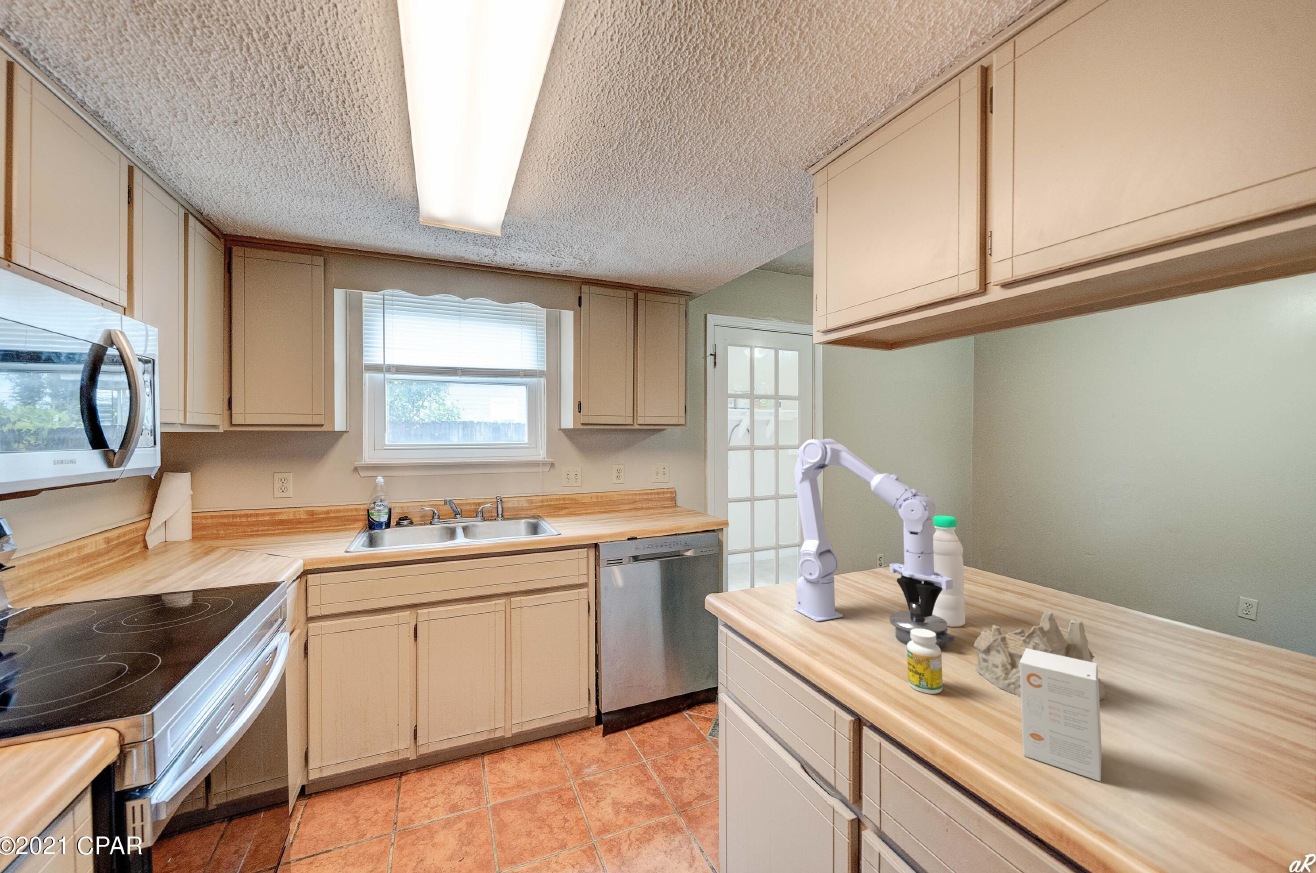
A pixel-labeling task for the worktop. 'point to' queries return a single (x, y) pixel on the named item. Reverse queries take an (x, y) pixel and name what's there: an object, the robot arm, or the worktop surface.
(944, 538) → the water bottle
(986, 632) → the ceramic cottage
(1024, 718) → the small box
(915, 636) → the supplement bottle
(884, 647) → the worktop surface
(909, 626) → the lid
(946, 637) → the pot
